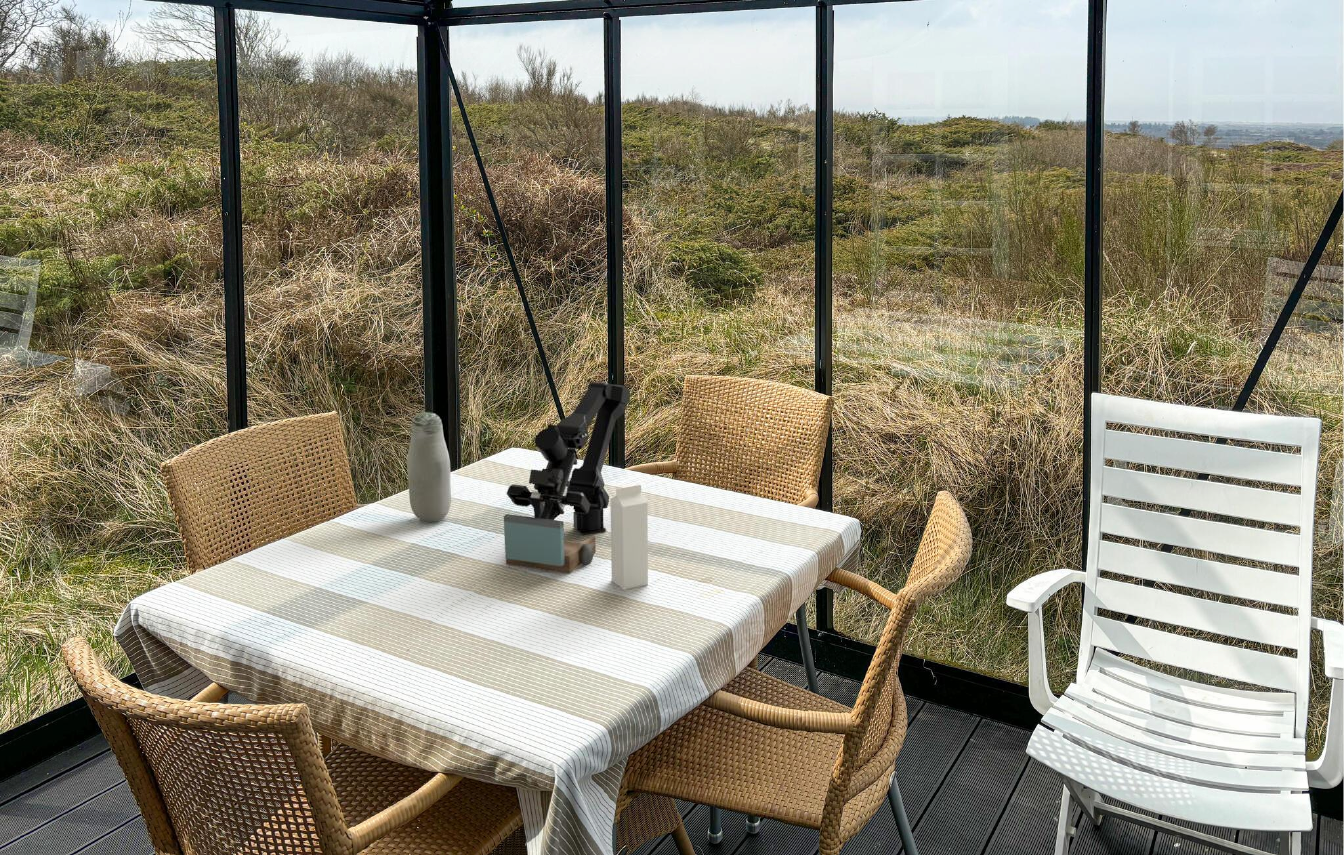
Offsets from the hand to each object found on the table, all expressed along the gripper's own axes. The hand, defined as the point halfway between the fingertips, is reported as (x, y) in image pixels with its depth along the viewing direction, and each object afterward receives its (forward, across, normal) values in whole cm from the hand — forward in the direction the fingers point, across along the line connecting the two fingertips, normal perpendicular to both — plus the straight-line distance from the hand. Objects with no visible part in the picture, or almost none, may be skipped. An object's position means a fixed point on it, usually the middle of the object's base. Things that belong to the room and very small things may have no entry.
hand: (536, 532), depth 258 cm
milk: (+7, +23, +6) cm, 24 cm away
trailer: (+1, 0, +11) cm, 11 cm away
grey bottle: (-8, -40, +20) cm, 46 cm away
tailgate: (+6, 0, +3) cm, 7 cm away
